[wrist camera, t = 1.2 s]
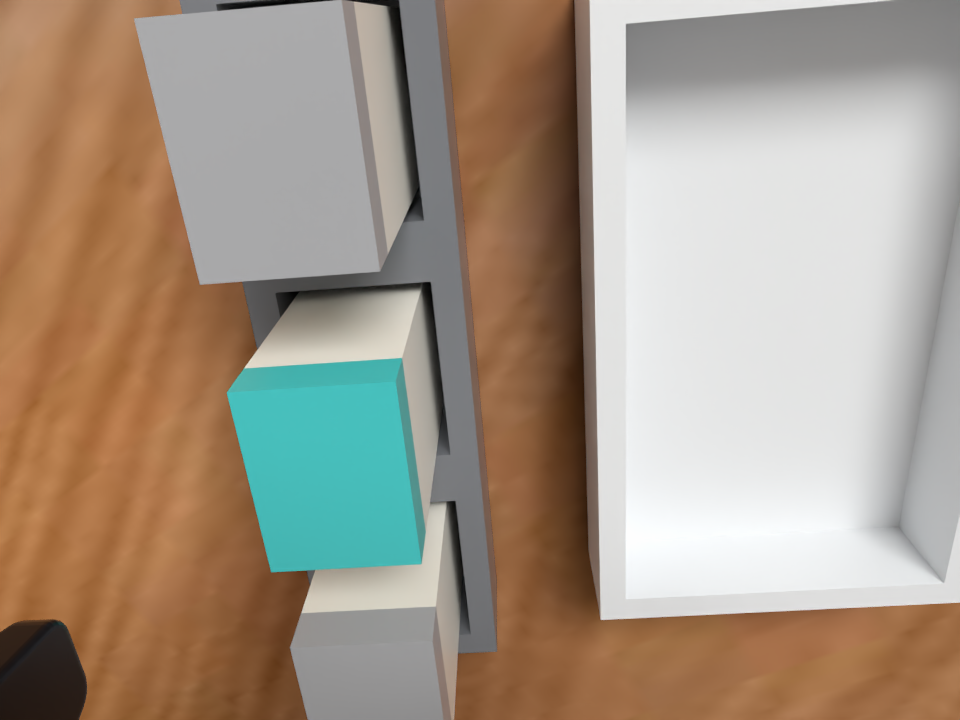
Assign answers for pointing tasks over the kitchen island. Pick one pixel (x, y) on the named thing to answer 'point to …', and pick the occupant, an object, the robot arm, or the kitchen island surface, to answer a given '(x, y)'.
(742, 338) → the tray
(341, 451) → the block
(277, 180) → the block
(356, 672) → the fuse
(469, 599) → the fuse holder
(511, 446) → the kitchen island surface
